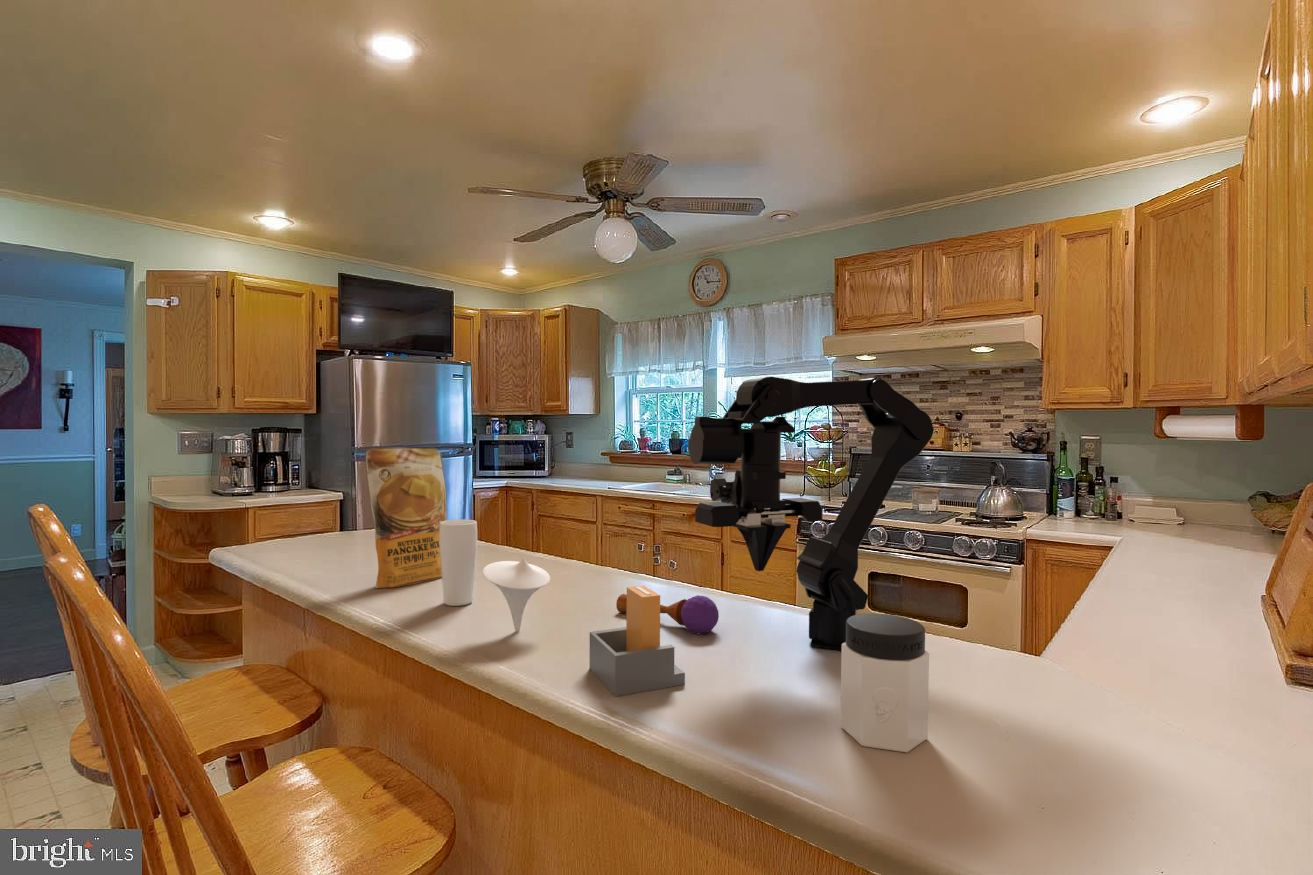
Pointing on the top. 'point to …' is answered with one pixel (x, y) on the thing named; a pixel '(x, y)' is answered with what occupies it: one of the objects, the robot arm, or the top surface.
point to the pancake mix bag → (406, 513)
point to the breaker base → (631, 664)
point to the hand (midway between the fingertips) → (759, 570)
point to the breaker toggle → (642, 618)
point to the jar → (885, 682)
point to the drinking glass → (458, 560)
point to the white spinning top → (516, 584)
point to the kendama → (686, 612)
